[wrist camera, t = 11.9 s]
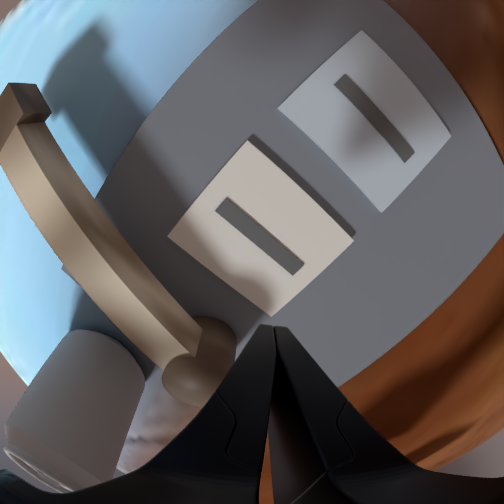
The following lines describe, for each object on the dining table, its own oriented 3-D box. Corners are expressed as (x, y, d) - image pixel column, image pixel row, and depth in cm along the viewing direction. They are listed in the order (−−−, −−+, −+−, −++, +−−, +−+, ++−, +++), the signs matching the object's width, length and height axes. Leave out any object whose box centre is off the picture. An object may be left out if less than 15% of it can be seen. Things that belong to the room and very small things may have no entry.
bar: (248, 347, 16) (246, 395, 13) (203, 367, 17) (194, 412, 14) (49, 85, 10) (3, 82, 7) (17, 129, 11) (-27, 137, 8)
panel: (513, 205, 13) (524, 211, 12) (286, 410, 21) (287, 422, 19) (321, -38, 8) (325, -49, 7) (67, 263, 16) (57, 272, 15)
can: (58, 350, 19) (-5, 451, 8) (83, 304, 17) (-10, 434, 6) (125, 399, 21) (85, 509, 10) (165, 367, 19) (120, 514, 8)
